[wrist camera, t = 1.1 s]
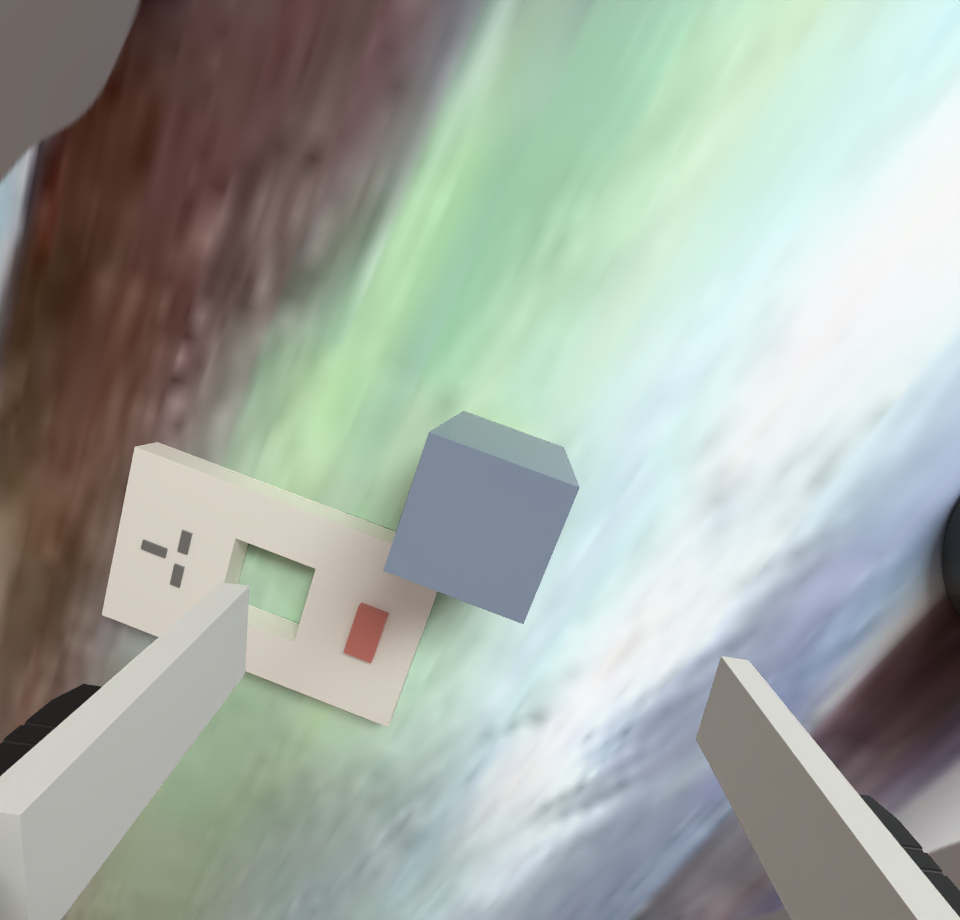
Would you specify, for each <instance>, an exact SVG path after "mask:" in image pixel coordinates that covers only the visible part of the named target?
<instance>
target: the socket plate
mask: <svg viewBox="0 0 960 920" xmlns="http://www.w3.org/2000/svg"><path fill="white" fill-rule="evenodd" d="M395 534H396V532H395V531H392V530H390V529H387V528H384V527H382V526H379V525H376V524H374V523H371V522H368V521H366V520H363V519H360V518H358V517H355V516H352V515H350V514H347V513H344V512H342V511H339V510H336V509H334V508H331V507H329V506H326V505H323V504H321V503H318V502H315V501H313V500H310V499H307V498H305V497H302V496H299V495H297V494H294V493H291V492H289V491H286V490H283V489H281V488H278V487H275V486H273V485H270V484H267V483H265V482H262V481H259V480H257V479H254V478H252V477H249V476H246V475H244V474H241V473H238V472H236V471H233V470H230V469H228V468H225V467H222V466H220V465H217V464H214V463H212V462H209V461H206V460H204V459H201V458H198V457H196V456H193V455H190V454H188V453H185V452H182V451H180V450H177V449H174V448H172V447H169V446H167V445H164V444H161V443H159V442H156V443H151V444H146V445H141V446H136V447H135V449H134V454H133V459H132V464H131V469H130V474H129V479H128V484H127V489H126V494H125V500H124V505H123V510H122V515H121V520H120V525H119V530H118V535H117V540H116V545H115V550H114V556H113V561H112V566H111V571H110V576H109V581H108V586H107V591H106V596H105V601H104V607H103V612H102V615H104V616H106V617H109V618H111V619H114V620H116V621H119V622H121V623H124V624H126V625H129V626H132V627H134V628H137V629H139V630H142V631H144V632H147V633H149V634H152V635H155V636H157V637H160V636H161V635H162V634H163V633H164V632H165V631H166V630H168V629H169V628H170V627H171V626H172V625H173V624H174V623H175V622H177V621H178V620H179V619H180V618H181V617H182V616H183V615H185V614H186V613H187V612H188V611H189V610H190V609H191V608H193V607H194V606H195V605H196V604H197V603H198V602H199V601H201V600H202V599H203V598H204V597H205V596H206V595H207V594H208V593H210V592H211V591H212V590H213V589H214V588H215V587H216V586H218V585H219V584H220V583H221V582H224V583H231V584H238V582H239V578H240V574H241V570H242V566H243V562H244V559H245V555H246V551H247V547H248V543H249V544H252V545H255V546H257V547H260V548H262V549H265V550H268V551H270V552H273V553H276V554H278V555H281V556H283V557H286V558H289V559H291V560H294V561H297V562H299V563H302V564H304V565H307V566H310V567H312V568H315V569H316V570H315V573H314V576H313V580H312V583H311V586H310V590H309V593H308V596H307V600H306V603H305V606H304V610H303V613H302V617H301V620H300V623H299V624H298V623H295V622H293V621H290V620H287V619H285V618H282V617H280V616H277V615H274V614H272V613H269V612H267V611H264V610H261V609H259V608H256V607H254V606H251V605H249V606H248V627H247V649H246V670H245V671H246V672H249V673H251V674H254V675H256V676H259V677H262V678H264V679H267V680H269V681H272V682H274V683H277V684H279V685H282V686H285V687H287V688H290V689H292V690H295V691H297V692H300V693H302V694H305V695H307V696H310V697H313V698H315V699H318V700H320V701H323V702H325V703H328V704H330V705H333V706H335V707H338V708H341V709H343V710H346V711H348V712H351V713H353V714H356V715H358V716H361V717H364V718H366V719H369V720H371V721H374V722H376V723H379V724H381V725H384V726H386V727H388V726H389V723H390V721H391V718H392V716H393V713H394V711H395V708H396V706H397V703H398V700H399V697H400V695H401V692H402V689H403V686H404V684H405V681H406V678H407V675H408V673H409V670H410V667H411V664H412V662H413V659H414V656H415V653H416V650H417V648H418V645H419V642H420V639H421V637H422V634H423V631H424V628H425V626H426V623H427V620H428V617H429V615H430V612H431V609H432V606H433V604H434V601H435V598H436V595H437V592H438V591H435V590H432V589H430V588H427V587H424V586H422V585H419V584H416V583H414V582H411V581H409V580H406V579H403V578H401V577H398V576H395V575H393V574H390V573H388V572H385V571H383V570H384V567H385V564H386V561H387V558H388V555H389V552H390V549H391V546H392V543H393V540H394V537H395Z"/></svg>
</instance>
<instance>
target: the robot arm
mask: <svg viewBox="0 0 960 920" xmlns="http://www.w3.org/2000/svg"><path fill="white" fill-rule="evenodd" d="M942 568H943V577H944V582H945V586H946V589H947V592H948V595H949V597H950V600H951V602H952V604H953V606H954V607H955V609H956V611H957V612H958V614H959V615H960V502H959V504H958V506H957V507H956V509H955V511H954V513H953V515H952V518H951V520H950V523H949V525H948V528H947V532H946V535H945V539H944V545H943V553H942ZM248 606H249V586H244V585H238V584H231V583H224V582H221V583H220V584H219V585H218V586H216V587H215V588H214V589H213V590H212V591H211V592H210V593H208V594H207V595H206V596H205V597H204V598H203V599H202V600H201V601H199V602H198V603H197V604H196V605H195V606H194V607H193V608H191V609H190V610H189V611H188V612H187V613H186V614H185V615H183V616H182V617H181V618H180V619H179V620H178V621H177V622H175V623H174V624H173V625H172V626H171V627H170V628H169V629H168V630H166V631H165V632H164V633H163V634H162V635H161V636H160V637H158V638H157V639H156V640H155V641H154V642H153V643H152V644H150V645H149V646H148V647H147V648H146V649H145V650H144V651H142V652H141V653H140V654H139V655H138V656H137V657H136V658H135V659H133V660H132V661H131V662H130V663H129V664H128V665H127V666H125V667H124V668H123V669H122V670H121V671H120V672H119V673H117V674H116V675H115V676H114V677H113V678H112V679H111V680H109V681H108V682H107V683H106V684H105V685H104V686H103V687H100V686H93V685H87V684H83V685H81V686H79V687H77V688H75V689H73V690H71V691H69V692H67V693H65V694H63V695H61V696H59V697H57V698H55V699H53V700H51V701H50V702H49V703H48V704H46V705H45V706H44V707H43V708H41V709H40V710H39V711H38V712H37V713H35V714H34V715H33V716H32V717H30V718H29V719H28V720H27V721H26V723H25V724H24V725H20V726H19V727H18V728H17V729H15V730H14V731H13V732H12V733H11V734H9V735H8V736H7V737H6V738H4V741H3V742H2V743H1V744H0V920H61V919H62V918H63V916H64V915H65V914H66V912H67V911H68V910H69V908H70V907H71V906H72V904H73V903H74V902H75V900H76V899H77V898H78V896H79V895H80V894H81V892H82V891H83V890H84V888H85V887H86V886H87V884H88V883H89V882H90V880H91V879H92V878H93V876H94V875H95V874H96V872H97V871H98V870H99V868H100V867H101V866H102V864H103V863H104V862H105V860H106V859H107V858H108V856H109V855H110V854H111V852H112V851H113V850H114V848H115V847H116V846H117V844H118V843H119V842H120V840H121V839H122V838H123V836H124V835H125V833H126V832H127V831H128V829H129V828H130V827H131V825H132V824H133V823H134V821H135V820H136V819H137V817H138V816H139V815H140V813H141V812H142V811H143V809H144V808H145V807H146V805H147V804H148V803H149V801H150V800H151V799H152V797H153V796H154V795H155V793H156V792H157V791H158V789H159V788H160V787H161V785H162V784H163V783H164V781H165V780H166V779H167V777H168V776H169V775H170V773H171V772H172V771H173V769H174V768H175V767H176V765H177V764H178V763H179V761H180V760H181V759H182V757H183V756H184V755H185V753H186V752H187V751H188V749H189V748H190V747H191V745H192V744H193V743H194V741H195V740H196V739H197V737H198V736H199V735H200V733H201V732H202V731H203V729H204V728H205V727H206V725H207V724H208V723H209V721H210V720H211V718H212V717H213V716H214V714H215V713H216V712H217V710H218V709H219V708H220V706H221V705H222V704H223V702H224V701H225V700H226V698H227V697H228V696H229V694H230V693H231V692H232V690H233V689H234V688H235V686H236V685H237V684H238V682H239V681H240V680H241V678H242V677H243V676H244V674H245V670H246V649H247V627H248ZM696 740H697V742H698V744H699V746H700V747H701V749H702V751H703V753H704V755H705V757H706V759H707V761H708V763H709V765H710V767H711V768H712V770H713V772H714V774H715V776H716V778H717V780H718V782H719V784H720V786H721V787H722V789H723V791H724V793H725V795H726V797H727V799H728V801H729V803H730V805H731V807H732V808H733V810H734V812H735V814H736V816H737V818H738V820H739V822H740V824H741V826H742V827H743V829H744V831H745V833H746V835H747V837H748V839H749V841H750V843H751V845H752V847H753V848H754V850H755V852H756V854H757V856H758V858H759V860H760V862H761V864H762V866H763V868H764V869H765V871H766V873H767V875H768V877H769V879H770V881H771V883H772V885H773V887H774V888H775V890H776V892H777V894H778V896H779V898H780V900H781V902H782V904H783V906H784V908H785V909H786V911H787V913H788V915H789V917H790V919H791V920H960V891H959V890H958V889H957V887H956V886H955V885H954V884H953V883H952V882H951V880H950V879H949V878H948V877H947V876H943V874H942V870H941V869H940V868H939V867H938V866H937V864H936V863H935V862H934V861H933V860H932V858H931V857H930V856H929V855H928V854H927V853H924V852H923V851H922V847H921V846H920V844H919V843H918V842H917V841H916V840H915V839H914V837H913V836H912V835H911V834H910V833H909V832H908V830H907V829H906V828H905V827H904V826H903V825H902V824H901V822H900V821H899V820H898V819H897V818H895V817H894V816H893V815H892V814H890V813H889V812H888V811H887V810H886V809H884V808H883V807H882V806H881V805H880V804H878V803H877V802H876V801H875V800H874V799H872V798H871V797H870V796H865V795H859V794H858V793H857V792H856V791H855V789H854V788H853V787H852V786H851V785H850V783H849V782H848V781H847V780H846V778H845V777H844V776H843V775H842V774H841V772H840V771H839V770H838V769H837V768H836V766H835V765H834V764H833V763H832V761H831V760H830V759H829V758H828V757H827V755H826V754H825V753H824V752H823V751H822V749H821V748H820V747H819V746H818V744H817V743H816V742H815V741H814V740H813V738H812V737H811V736H810V735H809V733H808V732H807V731H806V730H805V729H804V727H803V726H802V725H801V724H800V723H799V721H798V720H797V719H796V718H795V716H794V715H793V714H792V713H791V712H790V710H789V709H788V708H787V707H786V706H785V704H784V703H783V702H782V701H781V699H780V698H779V697H778V696H777V695H776V693H775V692H774V691H773V690H772V689H771V687H770V686H769V685H768V684H767V682H766V681H765V680H764V679H763V678H762V676H761V675H760V674H759V673H758V671H757V670H756V669H755V668H754V667H753V665H752V664H751V663H750V662H749V661H748V660H743V659H736V658H729V657H723V656H721V659H720V662H719V665H718V668H717V672H716V675H715V678H714V682H713V685H712V688H711V691H710V695H709V698H708V701H707V705H706V708H705V711H704V714H703V718H702V721H701V724H700V728H699V731H698V734H697V737H696Z"/></svg>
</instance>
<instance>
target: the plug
mask: <svg viewBox="0 0 960 920" xmlns="http://www.w3.org/2000/svg"><path fill="white" fill-rule="evenodd" d="M578 490H579V485H578V482H577V480H576V477H575V475H574V472H573V470H572V467H571V464H570V462H569V459H568V457H567V454H566V452H565V449H564V447H561V446H559V445H556V444H553V443H550V442H548V441H545V440H542V439H539V438H537V437H534V436H531V435H528V434H526V433H523V432H520V431H518V430H515V429H512V428H509V427H507V426H504V425H501V424H498V423H496V422H493V421H490V420H487V419H485V418H482V417H479V416H476V415H474V414H471V413H468V412H465V411H463V412H461V413H459V414H458V415H456V416H454V417H453V418H451V419H450V420H448V421H446V422H445V423H443V424H441V425H440V426H438V427H437V428H435V429H433V430H432V431H430V432H429V434H428V437H427V440H426V443H425V446H424V449H423V452H422V455H421V458H420V461H419V464H418V467H417V470H416V473H415V476H414V479H413V482H412V485H411V488H410V491H409V495H408V498H407V501H406V504H405V507H404V510H403V513H402V516H401V519H400V522H399V525H398V528H397V531H396V534H395V537H394V540H393V543H392V546H391V549H390V552H389V555H388V558H387V561H386V564H385V567H384V570H383V571H385V572H388V573H390V574H393V575H395V576H398V577H401V578H403V579H406V580H409V581H411V582H414V583H416V584H419V585H422V586H424V587H427V588H430V589H432V590H435V591H438V592H440V593H443V594H445V595H448V596H451V597H453V598H456V599H459V600H461V601H464V602H466V603H469V604H472V605H474V606H477V607H480V608H482V609H485V610H488V611H490V612H493V613H495V614H498V615H501V616H503V617H506V618H509V619H511V620H514V621H516V622H519V623H522V624H524V621H525V619H526V616H527V614H528V611H529V609H530V607H531V604H532V602H533V599H534V597H535V594H536V592H537V590H538V587H539V585H540V582H541V580H542V577H543V575H544V573H545V570H546V568H547V565H548V563H549V560H550V558H551V556H552V553H553V551H554V548H555V546H556V543H557V541H558V539H559V536H560V534H561V531H562V529H563V526H564V524H565V521H566V519H567V517H568V514H569V512H570V509H571V507H572V504H573V502H574V500H575V497H576V495H577V492H578Z"/></svg>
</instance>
